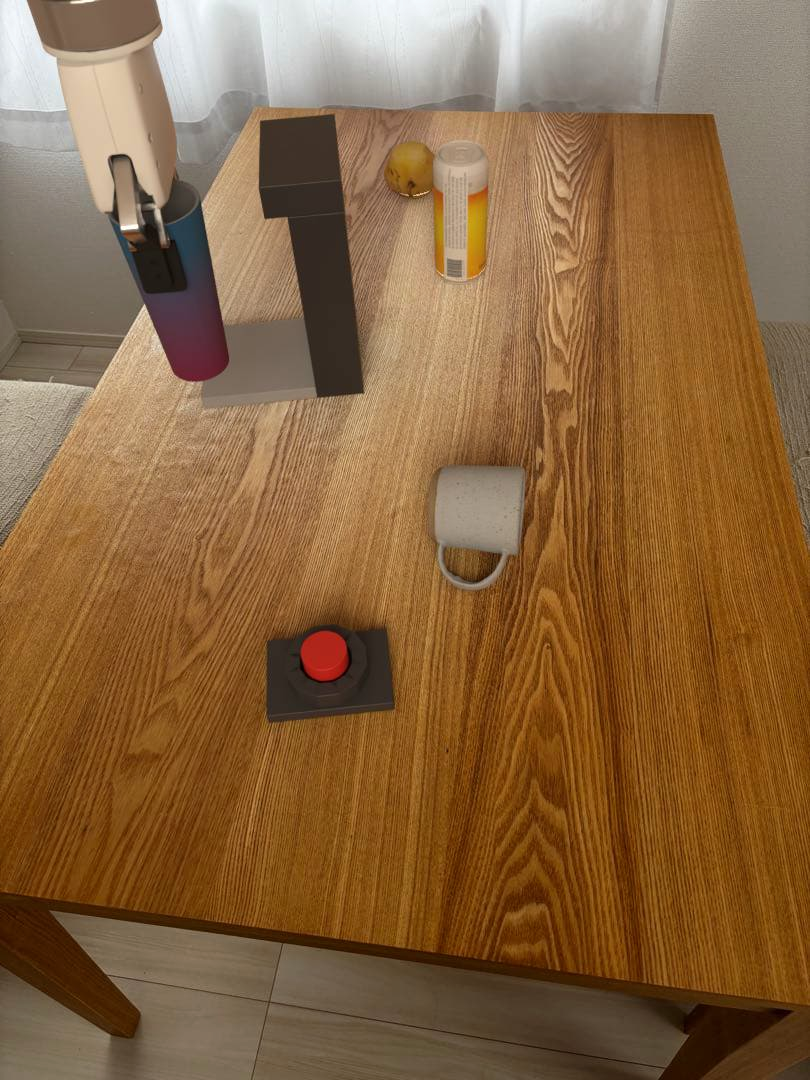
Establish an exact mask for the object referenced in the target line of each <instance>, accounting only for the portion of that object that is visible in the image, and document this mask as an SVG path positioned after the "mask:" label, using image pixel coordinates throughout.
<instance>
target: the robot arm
mask: <svg viewBox="0 0 810 1080" xmlns="http://www.w3.org/2000/svg"><path fill="white" fill-rule="evenodd" d="M26 3H27V5H28V9H29V11H30V14H31V18H32V20H33V22H34V25H35V29H36V31H37V35H38V37H39V40H40V42H41V46H42V49H43V50H44V52H45V53H47V54H48V55H50V56H51V57H53V58H55V59H56V68H57V72H58V79H59V83H60V87H61V91H62V96H63V100H64V104H65V108H66V112H67V116H68V120H69V123H70V127H71V130H72V134H73V137H74V140H75V144H76V147H77V150H78V154H79V158H80V161H81V164H82V168H83V171H84V174H85V177H86V180H87V183H88V187H89V190H90V193H91V196H92V200H93V203H94V205H95V208H96V209H97V210H98V211H99V212H100V213H101V214H102V215H108V214H107V213H109V212H113V208H114V204H115V200H116V197H117V205H118V214H119V222H120V229H121V233H122V235H123V236H124V237H125V238H126V240H127V242H128V246H129V249H130V251H131V253H132V256H133V259H134V262H135V265H136V268H137V271H138V274H139V277H140V280H141V283H142V286H143V289H144V291H145V292H146V293H148V294H156V293H168V292H179V291H185V290H186V288H187V281H186V277H185V274H184V270H183V267H182V263H181V260H180V256H179V253H178V249H177V246H176V242H175V240H170V238H169V233H168V228H167V223H166V218H165V213H164V208H163V206H164V205H165V204H166V203H167V201H168V199H169V195H170V190H171V185H172V180H173V179H175V180H180V177H179V173H178V171H177V168H176V161H177V154H178V140H177V139H178V138H177V133H176V127H175V123H174V119H173V114H172V110H171V106H170V101H169V97H168V94H167V90H166V86H165V82H164V79H163V75H162V72H161V69H160V68H161V67H160V65H159V61H158V58H157V55H156V51H155V48H154V42H155V41H156V40H157V39H158V38H159V37H160V36H161V34H162V33H163V29H164V27H163V23H162V19H161V14H160V10H159V5H158V2H157V0H26ZM139 193H147V194H148V195H152V197H153V200H151V201H140V198H139ZM142 212H153V213H154V218H155V223H156V228H157V229H156V228H155V227H154V226H153V225H152V224H145V221H144V220H143V218H142V214H141V213H142Z"/></svg>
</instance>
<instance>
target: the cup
mask: <svg viewBox="0 0 810 1080" xmlns="http://www.w3.org/2000/svg"><path fill="white" fill-rule="evenodd" d="M139 198H140V201H151V200H153V197H152V195H148V194H147V193H139ZM163 208H164V213H165V218H166V223H167V228H168V233H169V238H170V240H175V242H176V246H177V249H178V253H179V256H180V260H181V263H182V267H183V270H184V274H185V277H186V281H187V288H186V290H185V291H179V292H168V293H156V294H148V293H146V292H145V291H144V289H143V286H142V283H141V280H140V277H139V274H138V271H137V268H136V265H135V262H134V259H133V256H132V253H131V251H130V249H129V246H128V242H127V240H126V238H125V237H124V236H123V235H122V233H121V229H120V222H119V214H118V205H117V197H116V200H115V204H114V208H113V212H109V213H107V214H106V215H107V217H108V219H109V222H110V225H111V227H112V229H113V232H114V234H115V236H116V239H117V241H118V243H119V246H120V248H121V252H122V253H123V256H124V258H125V260H126V262H127V265H128V268H129V270H130V272H131V275H132V277H133V279H134V282H135V284H136V287H137V289H138V292H139V294H140V296H141V299H142V301H143V304H144V306H145V308H146V311H147V313H148V315H149V318H150V320H151V323H152V325H153V327H154V330H155V332H156V335H157V337H158V340H159V342H160V345H161V347H162V349H163V351H164V354H165V357H166V359H167V362H168V363H169V366H170V369H171V371H172V373H173V374H174V375H175V377H177V378H178V379H180V380H182V381H186V382H192V383H199V382H203V381H205V380H209V379H211V378H214V377H216V376H217V375H219V374H221V373H222V372H223V371H224V370H225V369H226V367H227V366H228V364H229V353H228V348H227V342H226V337H225V331H224V326H225V325H224V322H223V315H222V310H221V304H220V298H219V294H218V287H217V281H216V277H215V276H216V275H215V272H214V267H213V261H212V255H211V250H210V245H209V239H208V233H207V227H206V222H205V217H204V211H203V205H202V200H201V195H200V193H199V191H198V189H197V188H196V187H195V186H194V185H192V184H191V183H189V182H187V181H183V180H180V179H179V180H175V179H173V180H172V185H171V190H170V195H169V199H168V201H167V203H166V204H165V205H164V206H163ZM141 214H142V218H143V220H144V221H145V224H152V225H153V226H154V227H155V228H156V223H155V218H154V213H153V212H142V213H141ZM156 229H157V228H156Z"/></svg>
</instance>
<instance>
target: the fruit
mask: <svg viewBox="0 0 810 1080" xmlns="http://www.w3.org/2000/svg"><path fill="white" fill-rule="evenodd" d="M435 156H436V154H435V153H434V152H433V151H432V150H431V149H430V148H429V146H428V145H426V144H425V143H423V142H418V141H406V142H402V143H400V144H397V146H395V147H394V148H393V150H392V151H391V152H390V155H389V158H388V160H387V163H386V164H385V166H384V167H385V168H384V170H383V177H384V179H385V182H386V184H387V186H388V187H389V188H390V189H391V190H392V191H394V192H395V193H397V192H398V193H397V194H399V193H403V194H408V195H409V196H405V195H401V194H399V195H400V196H402V197H403V198H408V199H421V198H423V197H425V196H427V195H428V194H429V193H430V192H428V193H426V194H423V195H420V196H413V195H416V194H420V193H424V192H427V191H429V190H430V189H432V188H433V160H434V158H435ZM432 190H433V189H432Z"/></svg>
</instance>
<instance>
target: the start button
mask: <svg viewBox="0 0 810 1080" xmlns="http://www.w3.org/2000/svg"><path fill="white" fill-rule="evenodd" d="M301 658H302V661H303V665H304V669H305V671H306V673H307V674H308V675H309V676H310V677H312V678H313V679H315V680H318V681H331V680H334V679H336V678H338V677H339V676H341V675H342V674H343V673H344V672H345V670H346V669H347V666H348V663H349V657H348V651H347V646H346V643H345V641H344V639H343V638H342V637H341V636H340V635H338V634H337V633H334V632H331V631H320V632H317V633H314V634H312V635H311V636H309V637H308V638H307V639H306V640H305V641H304V643H303V645H302V648H301Z"/></svg>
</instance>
